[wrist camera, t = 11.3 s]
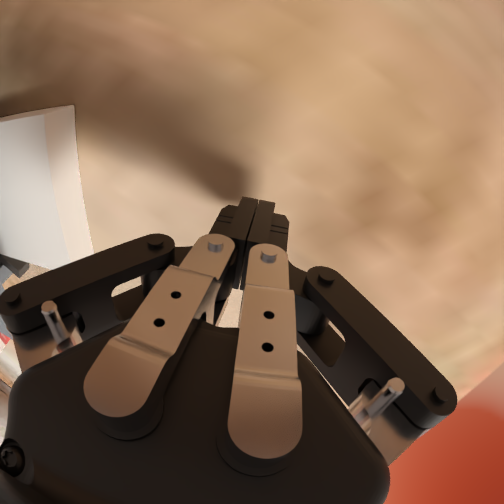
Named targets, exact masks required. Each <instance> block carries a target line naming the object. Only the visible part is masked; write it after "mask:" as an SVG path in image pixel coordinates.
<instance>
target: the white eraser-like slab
mask: <svg viewBox="0 0 504 504" xmlns="http://www.w3.org/2000/svg"><path fill="white" fill-rule="evenodd" d="M0 254H2V255H5V256H8V257H11V258H15V259H18V260H21V261H24V262H27V263H31V264H34V265H37V266H40V267H44V268H47V269H51V270H53V269H56V268H58V267H61V266H63V265H66V264H69V263H71V262H74V261H77V260H79V259H82V258H85V257H87V256H90V255H93V254H94V250H93V245H92V241H91V236H90V231H89V226H88V221H87V216H86V210H85V205H84V199H83V192H82V185H81V178H80V171H79V162H78V153H77V142H76V129H75V112H74V105H68V106H60V107H53V108H47V109H41V110H35V111H30V112H25V113H20V114H15V115H10V116H6V117H1V118H0Z"/></svg>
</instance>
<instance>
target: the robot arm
mask: <svg viewBox="0 0 504 504" xmlns="http://www.w3.org/2000/svg"><path fill="white" fill-rule="evenodd" d="M257 206H258V207H257ZM274 207H275V203H274V202H269V201H264V200H259V203H258V199H253V198H248V197H242V199H241V201H240V203H239V205H238V206H233V205H228V206H226V207H224V208H223V209H222V210H221V211H220V213H219V216H218V217H217V219H216V221H215V223H214V225H213V227H212V228H211V230H210V232H209V234H207V235H204V236H202V237H200V238H199V239H198V240H197V241H196V243H195V244H194V246H190V247H175V243H174V240H173V239H172V238H171V237H169V236H167V235H164V234H149V235H146V236H143V237H140V238H137V239H134V240H132V241H129V242H126V243H123V244H120V245H117V246H115V247H112V248H109V249H106V250H104V251H101V252H98V253H95V254H93V255H90V256H87V257H85V258H82V259H79V260H77V261H74V262H71V263H69V264H66V265H63V266H61V267H58V268H56V269H53V270H51V271H48V272H46V273H43V274H41V275H38V276H36V277H33V278H31V279H28V280H26V281H23V282H21V283H19V284H16V285H14V286H11V287H9V288H8V289H6V290H5V291H4V292H3V293H2V294H1V295H0V315H1V317H2V319H3V321H4V323H5V324H6V328H7V330H8V332H9V333H10V335H11V337H12V338H13V341H14V345H15V349H16V353H17V357H18V361H19V364H20V368H21V371H22V374H21V375H20V376H19V377H18V378H17V380H16V381H15V382H14V384H13V386H12V388H11V391H10V394H9V399H8V417H7V426H6V431H5V436H4V439H3V442H2V444H1V446H0V504H383V503H384V502H385V500H386V497H387V494H388V492H389V486H390V472H389V468H388V466H389V465H390V464H391V463H392V462H393V461H394V460H396V459H397V458H398V457H399V456H400V455H401V454H402V453H403V452H404V451H405V450H406V449H407V448H408V447H409V446H410V445H411V444H412V443H413V442H414V441H415V440H416V439H417V438H419V437H420V436H422V435H423V434H425V433H426V432H427V431H429V430H430V429H432V428H433V427H434V426H436V425H437V424H438V423H439V422H441V421H442V420H443V419H445V418H446V417H447V416H448V415H449V414H451V413H452V412H453V411H454V410H455V408H456V405H457V395H456V392H455V389H454V388H453V386H452V385H451V384H450V382H449V381H448V380H447V379H446V378H445V377H444V376H443V375H442V374H441V373H440V372H439V371H438V370H437V369H436V368H435V367H434V366H433V365H432V364H431V363H430V362H429V361H428V359H427V358H426V357H425V356H424V355H423V354H422V353H421V352H420V351H419V350H418V349H417V348H416V347H415V346H414V345H413V344H412V343H411V342H410V341H409V340H408V339H407V338H406V337H405V336H404V335H403V334H402V333H401V332H400V331H399V330H398V329H397V328H396V327H395V326H394V325H393V324H392V323H391V322H390V321H389V320H388V319H387V318H386V317H385V316H383V315H382V314H381V313H380V312H379V311H378V310H377V309H376V308H375V307H374V306H373V305H372V304H371V303H370V302H369V301H368V300H367V299H366V298H365V297H364V296H363V295H362V294H361V293H360V292H359V291H357V290H356V289H355V288H354V287H353V286H352V285H351V284H350V283H349V282H348V281H347V280H346V279H345V278H344V277H343V276H341V275H340V274H339V273H338V272H337V271H335V270H333V269H331V268H328V267H323V266H316V267H313V268H311V269H309V270H308V272H305V271H303V270H300V269H298V268H296V267H295V266H293V265H292V264H291V263H290V262H289V260H288V255H287V253H286V252H287V241H288V229H289V221H288V219H287V218H286V216H285V215H280V214H275V213H274ZM139 276H141V283H142V285H140V286H138V287H135V288H133V289H130V290H128V291H126V292H123V293H121V294H119V295H116V296H114V297H111V294H112V291H113V289H114V288H115V287H116V286H118V285H120V284H122V283H125V282H127V281H130V280H132V279H135V278H137V277H139ZM241 277H242V278H241ZM240 281H241V285H240V290H243V296H242V302H241V308H240V315H239V323H238V328H222V327H218V325H219V323H220V320H221V318H222V315H223V313H224V311H225V308H226V306H227V303H228V297H229V295H230V293H231V290H232V288H234V289H238V288H239V284H240ZM329 321H331V322H332V323H333V324H334V325H335V326H336V328H337V329H338V330H339V331H340V332H341V333H342V334H343V336H344V338H345V342H344V341H343V339H342V338H341V337H340V336H339V335H338V334H337V333H336V332H335V331H334V330H333V328H332V327H331V326H330V325H329V324H328V323H329ZM297 344H298V345H299V346H300V348H301V349H302V350H303V351H304V353H305V354H306V355H307V356H308V358H309V359H310V360H311V361H312V362H311V361H310V360H309V359H308V358H307V357H306V356H305V355H303V354H302V353H301V352H299V351H298V350H297ZM312 363H313V364H314V365H315V366H316V367H317V369H318V370H319V371H320V372H321V374H322V375H323V376H324V377H325V379H326V380H327V381H328V382H329V383H330V385H331V386H332V387H333V388H334V390H335V391H336V392H337V393H338V394H339V396H340V397H341V398H342V399H343V400H344V402H345V403H346V404H347V405H348V406H349V409H347V408H346V407H345V405H344V404H343V403H342V402H341V400H340V399H339V398H338V396H337V395H336V394H335V392H334V391H333V390H332V388H331V387H330V386H329V385H328V383H327V382H326V381H325V379H324V378H323V377H322V375H321V374H320V373H319V371H318V370H317V369H316V367H315V366H314V365H313V364H312Z"/></svg>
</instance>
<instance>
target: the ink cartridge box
mask: <svg viewBox="0 0 504 504" xmlns="http://www.w3.org/2000/svg"><path fill="white" fill-rule="evenodd" d="M9 340H10V338H9V337H7V336H6V335H4V334H2V333H1V332H0V353H1V351H2V350H3V348H4V347H5V345H6V344H7V343H8V341H9Z"/></svg>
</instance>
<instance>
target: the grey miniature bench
mask: <svg viewBox="0 0 504 504" xmlns="http://www.w3.org/2000/svg"><path fill="white" fill-rule="evenodd" d="M28 269H29V263H27V262H24V261H21V260H18V259H15V258H11V257H8V256H5V255H2V254H0V295H1V294H2V293H3V292H4V291H5V290H4V288H3V286H2V284H3V283H4V282H5V281H6V280H7V279H8V278H9V277H10V276H11V274H12V273H14V274H15V275H16V276H17V277H18V278H20V277H21V276H22V275H23V274H24V273H25V272H26V271H27V270H28ZM0 332H1V333H2V334H4V335H6V336H7V337H9V338H11V339H12V340H13V338H12V337H11V335H10V333H9V332H8V330H7V328H6V324H5V323H4V321H3V319H2V317H1V315H0Z"/></svg>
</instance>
